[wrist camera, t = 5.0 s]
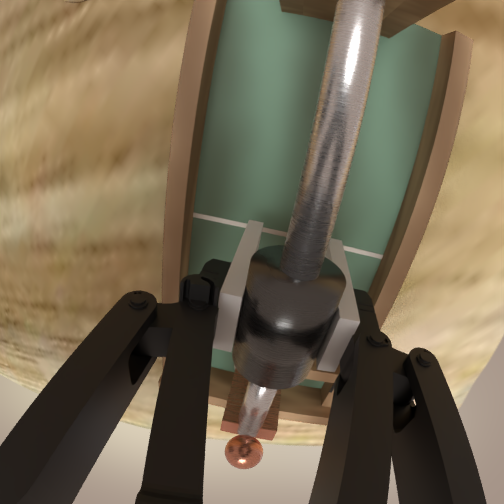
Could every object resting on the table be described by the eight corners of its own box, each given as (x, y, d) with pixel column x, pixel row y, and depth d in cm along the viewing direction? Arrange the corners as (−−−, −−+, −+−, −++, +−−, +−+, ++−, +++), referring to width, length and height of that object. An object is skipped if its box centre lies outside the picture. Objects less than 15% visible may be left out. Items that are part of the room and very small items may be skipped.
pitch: (174, 355, 28) (127, 461, 18) (215, -12, 14) (122, -105, 4) (328, 388, 28) (328, 502, 17) (450, 45, 13) (580, 23, 3)
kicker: (241, 335, 24) (207, 466, 14) (319, -51, 11) (330, -173, 1) (284, 344, 24) (269, 478, 14) (377, -36, 11) (445, -139, 1)
